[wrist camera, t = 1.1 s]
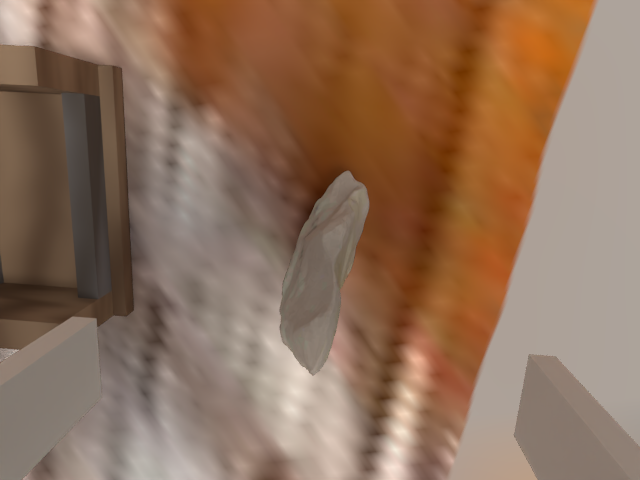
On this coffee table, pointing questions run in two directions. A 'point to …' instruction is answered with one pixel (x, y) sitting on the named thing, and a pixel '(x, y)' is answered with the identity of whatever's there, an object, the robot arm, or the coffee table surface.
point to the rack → (61, 194)
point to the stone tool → (322, 271)
